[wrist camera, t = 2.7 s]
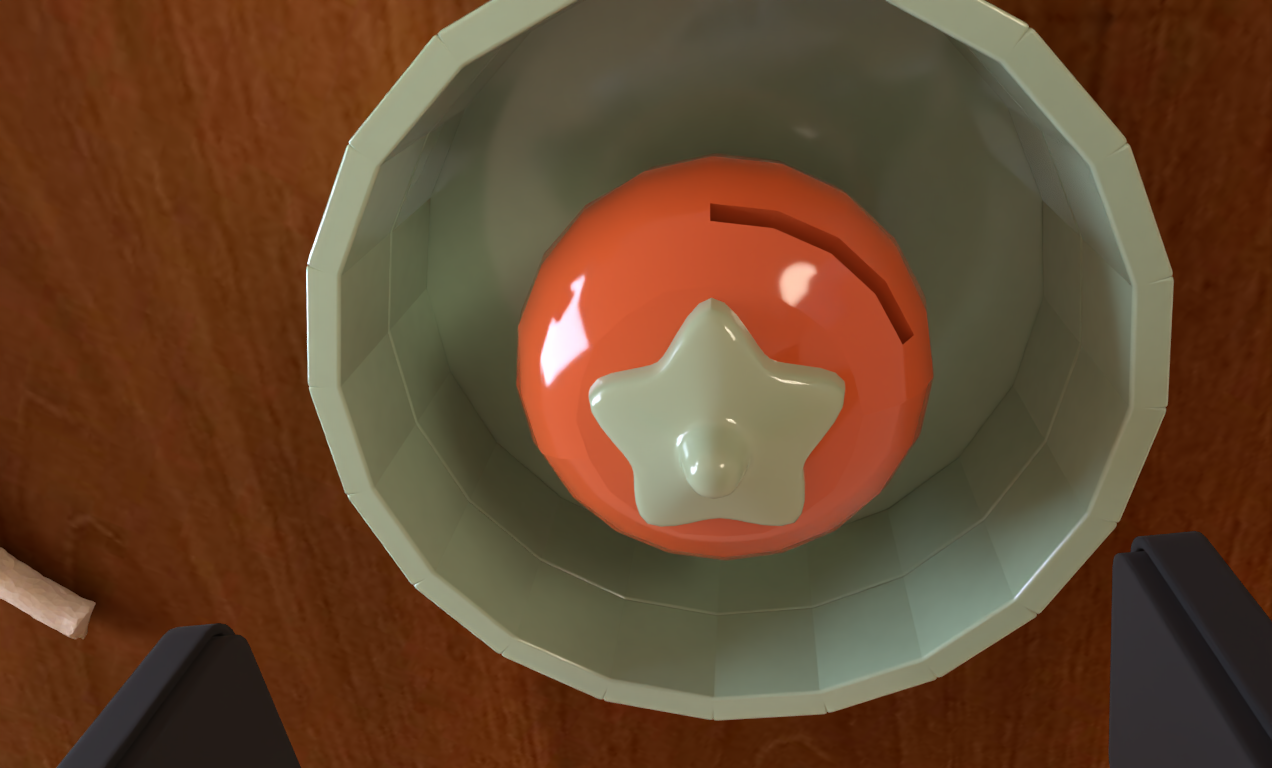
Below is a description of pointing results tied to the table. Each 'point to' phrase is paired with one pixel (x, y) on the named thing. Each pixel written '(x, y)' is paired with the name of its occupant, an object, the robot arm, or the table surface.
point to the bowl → (830, 150)
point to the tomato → (724, 357)
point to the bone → (43, 598)
